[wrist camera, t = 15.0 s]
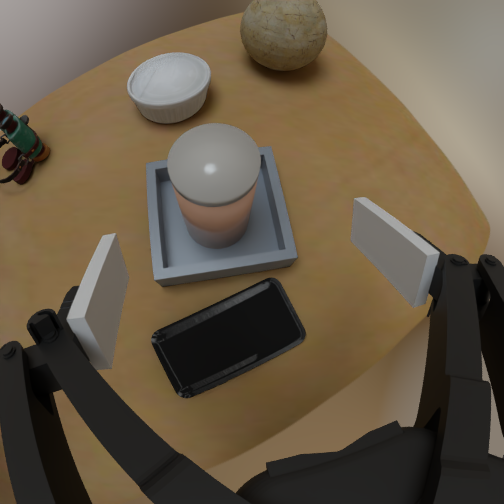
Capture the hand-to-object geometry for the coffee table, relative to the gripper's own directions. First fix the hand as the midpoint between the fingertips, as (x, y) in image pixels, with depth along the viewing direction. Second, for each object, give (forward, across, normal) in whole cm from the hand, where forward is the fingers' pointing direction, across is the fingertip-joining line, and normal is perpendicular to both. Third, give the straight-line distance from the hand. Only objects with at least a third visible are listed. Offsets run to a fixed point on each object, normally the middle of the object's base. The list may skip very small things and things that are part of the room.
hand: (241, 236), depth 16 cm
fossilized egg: (+36, +13, +12) cm, 40 cm away
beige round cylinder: (+17, 0, -6) cm, 18 cm away
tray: (+18, 0, -7) cm, 19 cm away
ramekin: (+32, -4, +7) cm, 33 cm away
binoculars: (+28, -28, +3) cm, 40 cm away
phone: (+9, -1, -16) cm, 19 cm away
